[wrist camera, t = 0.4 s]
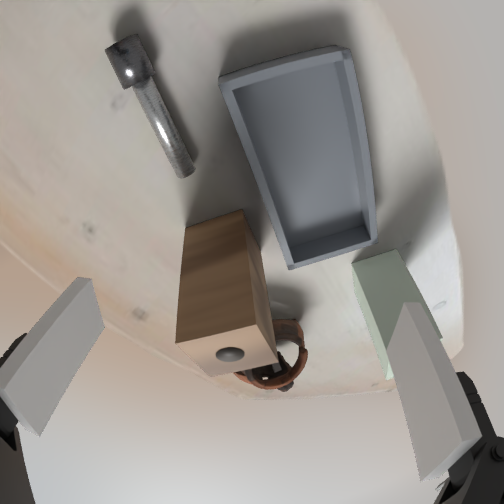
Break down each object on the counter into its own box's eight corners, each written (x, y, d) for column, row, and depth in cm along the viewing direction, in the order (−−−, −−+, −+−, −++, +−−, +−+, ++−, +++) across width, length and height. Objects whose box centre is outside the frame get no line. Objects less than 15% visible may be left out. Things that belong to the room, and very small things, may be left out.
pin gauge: (111, 48, 15) (99, 52, 14) (140, 32, 15) (131, 34, 13) (174, 173, 22) (170, 188, 21) (201, 162, 22) (199, 177, 20)
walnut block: (185, 228, 26) (175, 344, 18) (242, 209, 25) (256, 324, 17) (209, 267, 29) (210, 377, 21) (260, 252, 28) (278, 362, 20)
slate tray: (218, 77, 18) (218, 84, 16) (335, 45, 17) (350, 49, 15) (283, 249, 28) (288, 270, 27) (367, 224, 27) (377, 242, 25)
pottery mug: (200, 330, 37) (219, 367, 29) (262, 281, 38) (294, 308, 31) (253, 384, 41) (277, 421, 34) (305, 342, 43) (338, 372, 35)
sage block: (351, 263, 31) (389, 359, 22) (396, 248, 30) (443, 338, 22) (354, 293, 34) (386, 380, 26) (395, 279, 33) (433, 362, 25)
